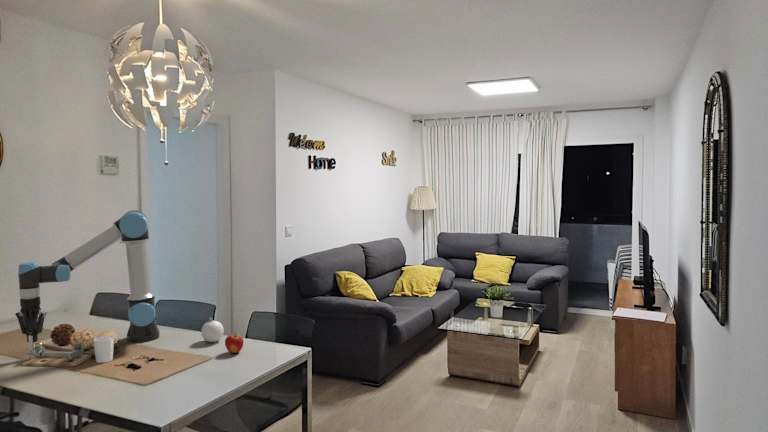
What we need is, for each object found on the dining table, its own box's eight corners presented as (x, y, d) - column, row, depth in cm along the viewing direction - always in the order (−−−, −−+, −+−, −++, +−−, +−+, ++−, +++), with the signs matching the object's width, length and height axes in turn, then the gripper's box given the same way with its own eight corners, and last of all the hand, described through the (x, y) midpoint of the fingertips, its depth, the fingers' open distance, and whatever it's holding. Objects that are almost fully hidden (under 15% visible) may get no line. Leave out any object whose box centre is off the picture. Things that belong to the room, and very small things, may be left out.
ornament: (197, 343, 262) (197, 319, 261) (209, 337, 272) (208, 314, 271) (216, 345, 259) (216, 321, 258) (227, 339, 269) (227, 315, 268)
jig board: (91, 357, 243) (91, 354, 243) (74, 366, 231) (74, 364, 231) (41, 356, 244) (41, 353, 244) (22, 365, 232) (22, 363, 232)
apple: (234, 348, 254) (234, 328, 254) (247, 351, 250) (246, 330, 249) (221, 353, 247) (221, 332, 247) (234, 356, 243) (233, 335, 243)
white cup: (118, 358, 241) (117, 336, 240) (105, 364, 234) (104, 341, 233) (104, 356, 243) (103, 335, 242) (90, 362, 236) (89, 340, 235)
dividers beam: (84, 355, 242) (83, 342, 241) (72, 362, 233) (71, 349, 233) (40, 354, 243) (40, 342, 242) (27, 361, 234) (27, 348, 234)
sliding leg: (45, 354, 242) (44, 341, 242) (32, 360, 234) (31, 347, 234) (38, 354, 243) (38, 341, 242) (25, 360, 234) (24, 347, 234)
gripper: (49, 295, 242) (52, 346, 244) (21, 295, 243) (24, 346, 245) (38, 299, 235) (41, 352, 237) (9, 298, 235) (12, 351, 237)
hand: (32, 349), depth 241 cm, fingers closed
